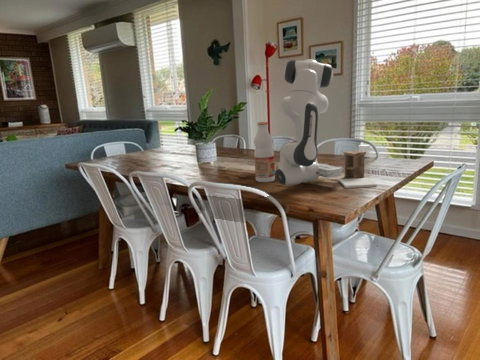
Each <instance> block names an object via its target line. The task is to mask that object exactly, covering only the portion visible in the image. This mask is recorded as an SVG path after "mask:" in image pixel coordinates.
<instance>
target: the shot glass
mask: <svg viewBox="0 0 480 360" xmlns="http://www.w3.org/2000/svg"><path fill="white" fill-rule="evenodd" d="M371 147H372V145H371V144H368V143H367V144H359V145H358V151H363V152H366V154H365V155H364V158H369V157H370V153H371Z"/></svg>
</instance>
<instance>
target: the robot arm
mask: <svg viewBox="0 0 480 360" xmlns="http://www.w3.org/2000/svg"><path fill="white" fill-rule="evenodd" d="M283 77H284V81H286V83H288V84H291V85H292V87H291V92H290V95H289V96H285V97H283V98H282V100H281V102H280V105H279V108H280V111H281V113H282V114H283V115H284V116H285V117H286V118H288V119H289V121H290V122H291V124H292V126H293V130H294V140H293V141H290V142H286V143H285V144H283V145H282V146H281V148H280V149H279V162H278V164H277V168H276V169H275V178H276V179H277V181H278V182H279V184H281V185H283V186H295V185H300V184H301V183H310V182H315V181H317V180H318V179H319V177H321V178H322V177H323V178H325V179H328V178H337V177H340V176H342V171H344V167H343V166H334V165H329V163H319V162H318V158H317V157H318V154H319V152H318V143H317V140H318V139H317V138H318V121H319V115H321V114H324V113H326V112H327V110H328V108H329V99H328V97H327V96H326V95H325V94H322V93H321V91H319V88H328V87H329V86H330V84H331V82H332V81H333V78H334V70H333V67H332V65H330V64H328V63H323V62H318V61H317V60H315V59H312V58H307V59H305V60H296V59H291V60H289V61H287V63H286V65H285V66H284V69H283Z"/></svg>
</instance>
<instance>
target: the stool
mask: <svg viewBox="0 0 480 360" xmlns="http://www.w3.org/2000/svg"><path fill="white" fill-rule="evenodd" d="M365 154H366V152H363V151H359V150H355V149H354V150H348V151H343V156H344V177H345V178H348V177H352V179H354V178H365V157H364V155H365Z"/></svg>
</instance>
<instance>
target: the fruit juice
mask: <svg viewBox="0 0 480 360" xmlns="http://www.w3.org/2000/svg"><path fill="white" fill-rule="evenodd" d="M256 125H257V127H258V129H257V133H256V136H255V137H254V138H253V143H254V147H255V149H254V154H253V155H254V169H255V170H254V172H255V173H254V175H255V181H256V182H257V181H258V183H271V182H274V181H275V180H276V169H275V167H276V166H275V151H274V148H273V145H274V139H273V137H272V135H271V134H270V132H269V129H268V126H269V122H268V121H259V122H257V124H256Z"/></svg>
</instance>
